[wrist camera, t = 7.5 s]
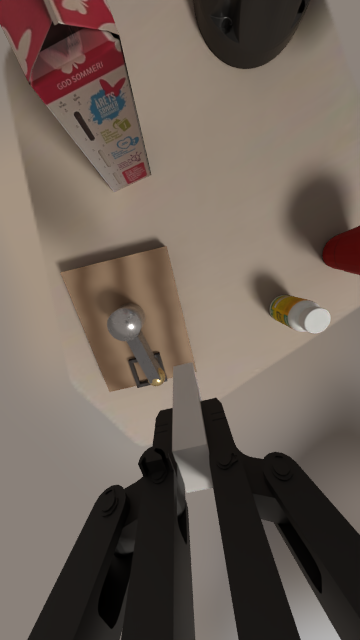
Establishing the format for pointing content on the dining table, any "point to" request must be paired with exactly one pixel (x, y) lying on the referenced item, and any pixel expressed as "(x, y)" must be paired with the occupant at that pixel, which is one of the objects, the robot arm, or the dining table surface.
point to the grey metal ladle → (135, 339)
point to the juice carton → (81, 79)
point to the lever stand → (138, 288)
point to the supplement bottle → (299, 314)
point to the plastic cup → (344, 251)
